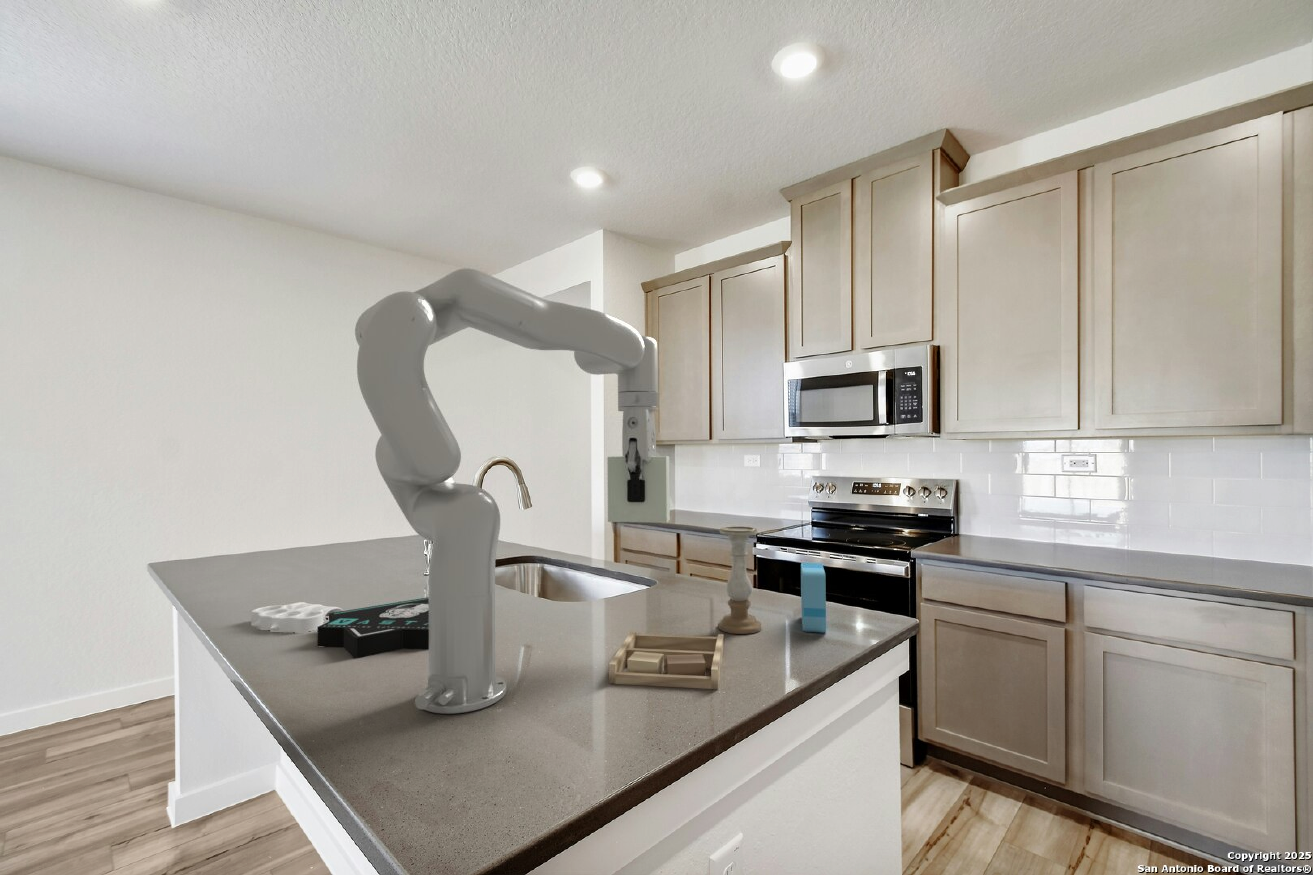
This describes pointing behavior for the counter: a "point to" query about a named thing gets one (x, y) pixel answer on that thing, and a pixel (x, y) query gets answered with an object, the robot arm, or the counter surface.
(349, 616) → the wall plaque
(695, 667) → the walnut offcut
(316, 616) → the white dimpled disc
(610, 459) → the sage panel
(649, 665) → the pine offcut
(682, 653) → the oak rack
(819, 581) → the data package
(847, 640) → the counter surface
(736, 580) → the candle holder
